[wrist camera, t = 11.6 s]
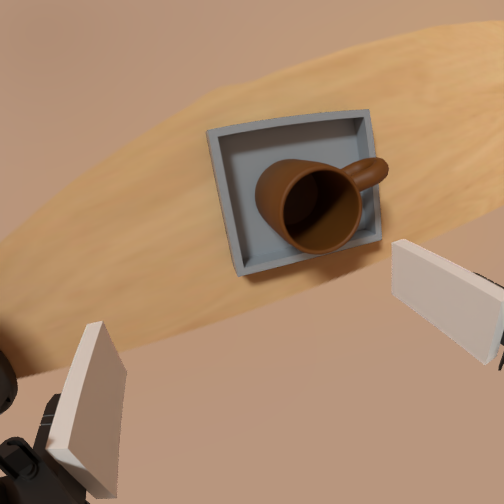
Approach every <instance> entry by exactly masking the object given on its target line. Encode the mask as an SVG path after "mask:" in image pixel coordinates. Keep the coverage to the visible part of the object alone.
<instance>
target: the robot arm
mask: <svg viewBox="0 0 504 504" xmlns="http://www.w3.org/2000/svg"><path fill="white" fill-rule="evenodd" d="M392 295H394V296H395V297H397V298H398V299H399V300H401V301H402V302H403V303H405V304H406V305H407V306H409V307H410V308H411V309H413V310H414V311H415V312H417V313H418V314H419V315H421V316H422V317H424V318H425V319H426V320H427V321H429V322H430V323H431V324H433V325H434V326H435V327H437V328H438V329H439V330H441V331H442V332H443V333H444V334H446V335H447V336H448V337H450V338H451V339H452V340H453V341H455V342H456V343H457V344H459V345H460V346H461V347H462V348H464V349H465V350H466V351H468V352H469V353H470V354H471V355H473V356H474V357H475V358H476V359H478V360H479V361H480V362H481V363H483V364H484V365H486V364H487V363H488V362H490V361H491V360H492V359H494V358H495V357H496V356H497V353H498V349H499V346H500V343H501V344H502V345H503V346H504V287H502V286H500V285H499V284H497V283H494V282H493V281H491V280H489V279H488V280H487V278H486V277H484V276H482V275H480V274H478V273H474V272H471V271H469V270H467V269H465V268H463V267H461V266H459V265H457V264H455V263H453V262H451V261H449V260H447V259H445V258H443V257H441V256H439V255H437V254H435V253H433V252H430V251H429V250H427V249H424V248H422V247H420V246H418V245H416V244H414V243H412V242H410V241H408V240H405V239H402V240H398V241H395V242H392ZM503 364H504V353H503V356H502V359H501V361H500V364H499V370H501V369H502V366H503ZM126 375H127V371H126V369H125V367H124V365H123V363H122V361H121V359H120V357H119V355H118V353H117V351H116V348H115V346H114V344H113V342H112V340H111V338H110V336H109V333H108V331H107V329H106V327H105V324H104V322H103V321H99V322H95V323H91V324H87V326H86V328H85V331H84V333H83V336H82V338H81V341H80V343H79V346H78V348H77V351H76V354H75V356H74V359H73V362H72V365H71V367H70V370H69V373H68V376H67V379H66V382H65V385H64V388H63V390H62V393H61V394H55V395H54V396H53V397H52V398H51V400H50V401H49V402H48V403H47V405H46V408H45V411H44V414H43V416H44V417H43V418H42V420H41V423H40V424H41V426H39V429H38V433H37V436H36V439H35V443H34V446H33V449H32V448H31V447H30V445H29V444H28V443H27V442H26V441H25V440H24V439H23V438H20V437H11V438H9V439H7V440H5V441H4V442H3V443H2V444H1V445H0V469H1V470H2V471H3V472H4V473H5V474H6V475H7V476H4V477H0V504H90V503H89V502H87V501H86V500H85V499H86V490H87V491H88V492H89V493H90V494H91V495H92V496H93V497H95V498H96V499H103V498H104V499H107V498H117V476H118V474H117V473H118V456H119V442H120V428H121V418H122V408H123V399H124V390H125V381H126ZM17 391H18V385H17V379H16V376H15V373H14V371H13V369H12V367H11V365H10V363H9V362H8V360H7V359H6V357H5V356H4V355H3V353H2V352H1V351H0V415H1V414H2V413H3V412H4V411H6V410H7V409H8V408H9V407H10V406H11V405H12V403H13V401H14V399H15V397H16V395H17Z"/></svg>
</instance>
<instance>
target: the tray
mask: <svg viewBox="0 0 504 504" xmlns="http://www.w3.org/2000/svg"><path fill="white" fill-rule="evenodd" d="M206 136H207V141H208V146H209V151H210V156H211V161H212V166H213V171H214V176H215V181H216V186H217V191H218V196H219V200H220V205H221V210H222V215H223V220H224V224H225V229H226V234H227V238H228V243H229V248H230V252H231V257H232V261H233V266H234V269H235V271H236V274H237V276H238V277H240V276H244V275H248V274H252V273H256V272H260V271H264V270H268V269H272V268H276V267H280V266H284V265H287V264H291V263H295V262H299V261H303V260H307V259H311V258H315V257H318V256H322V255H326V254H322V255H313V254H308V253H304V252H302V251H300V250H298V249H297V248H295V247H293V246H292V245H290V244H289V243H287V242H286V241H285V240H284V239H283V238H282V237H281V236H280V235H279V234H278V233H277V232H275V231H274V230H273V229H272V227H271V226H270V225H269V224H268V223H267V222H266V221H265V220H264V219H263V218H262V216H261V215H260V213H259V211H258V209H257V207H256V203H255V188H256V184H257V181H258V179H259V177H260V176H261V174H262V173H263V172H264V170H265V169H267V168H268V167H269V166H270V165H272V164H273V163H275V162H277V161H280V160H284V159H299V160H308V161H315V162H321V163H325V164H329V165H331V166H334V167H337V168H339V169H342V168H344V167H345V166H347V165H349V164H351V163H353V162H356V161H359V160H362V159H366V158H371V157H376V155H375V147H374V139H373V131H372V124H371V117H370V111H369V109H365V110H349V111H336V112H325V113H315V114H306V115H297V116H289V117H282V118H274V119H268V120H261V121H255V122H249V123H243V124H237V125H231V126H226V127H221V128H216V129H211V130H207V131H206ZM360 194H361V199H362V216H361V220H360V223H359V226H358V228H357V230H356V232H355V234H354V235H353V237H352V238H351V239H350V240H349V241H348V242H347V243H346V244H345V245H344V246H342V247H341V248H339V249H337V250H336V251H333V252H331V253H334V252H338V251H341V250H345V249H349V248H353V247H356V246H360V245H364V244H368V243H371V242H375V241H379V240H382V231H381V212H380V197H379V185H378V184H377V185H375V186H373V187H370V188H368V189H366V190H363V191H361V192H360ZM327 254H330V253H327Z"/></svg>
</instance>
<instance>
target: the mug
mask: <svg viewBox="0 0 504 504" xmlns="http://www.w3.org/2000/svg"><path fill="white" fill-rule="evenodd" d="M388 170H389V167H388V164H387V163H386V162H385V161H384V160H383V159H381V158H377V157H371V158H366V159H362V160H359V161H356V162H353V163H351V164H349V165H347V166H345V167H344V168H342V169H339V168H337V167H334V166H331V165H329V164H325V163H321V162H315V161H308V160H299V159H284V160H280V161H277V162H275V163H273V164H272V165H270V166H269V167H268V168H267V169H265V170H264V172H263V173H262V174H261V176H260V177H259V179H258V181H257V184H256V188H255V203H256V207H257V209H258V211H259V213H260V215H261V216H262V218H263V219H264V220H265V221H266V222H267V223H268V224H269V225H270V226H271V227H272V229H273V230H274V231H275V232H277V233H278V234H279V235H280V236H281V237H282V238H283V239H284V240H285V241H286V242H287V243H289V244H290V245H292V246H293V247H295V248H297V249H298V250H300V251H302V252H304V253H308V254H313V255H322V254H327V253H331V252H333V251H336V250H337V249H339V248H341V247H342V246H344V245H345V244H346V243H347V242H348V241H349V240H350V239H351V238H352V237H353V235H354V234H355V232H356V230H357V228H358V226H359V223H360V220H361V216H362V199H361V194H360V192H361V191H363V190H366V189H368V188H370V187H373V186H375V185H377V184H378V183H380V182H381V181H383V179H384V178H385V177H386V176H387V175H388Z"/></svg>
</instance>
